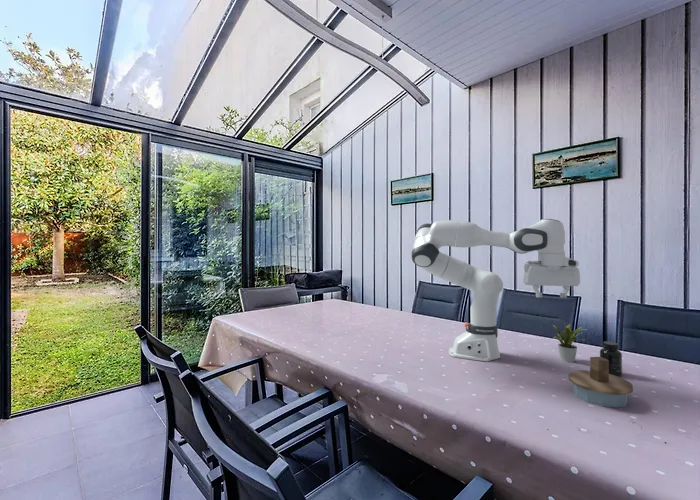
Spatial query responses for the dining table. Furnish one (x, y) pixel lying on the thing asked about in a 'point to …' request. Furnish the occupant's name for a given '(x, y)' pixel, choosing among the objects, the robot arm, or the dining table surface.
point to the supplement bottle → (612, 357)
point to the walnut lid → (600, 379)
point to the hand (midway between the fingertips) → (551, 297)
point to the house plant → (567, 343)
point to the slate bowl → (600, 397)
